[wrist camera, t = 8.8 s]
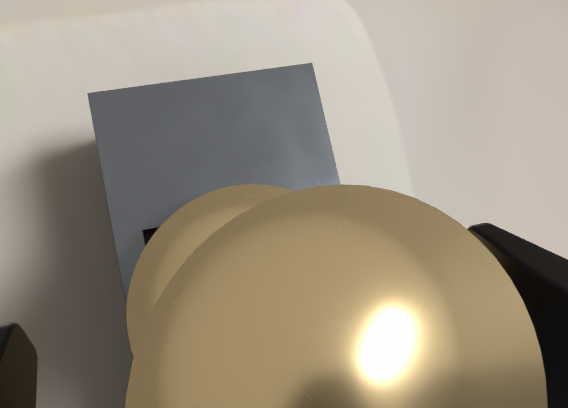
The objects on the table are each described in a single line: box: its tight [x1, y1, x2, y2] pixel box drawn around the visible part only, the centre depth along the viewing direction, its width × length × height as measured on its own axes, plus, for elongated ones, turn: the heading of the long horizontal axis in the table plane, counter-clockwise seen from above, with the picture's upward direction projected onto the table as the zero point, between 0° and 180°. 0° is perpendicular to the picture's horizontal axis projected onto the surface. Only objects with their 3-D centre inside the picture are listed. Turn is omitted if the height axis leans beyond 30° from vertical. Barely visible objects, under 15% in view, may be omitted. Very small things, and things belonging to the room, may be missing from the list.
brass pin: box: [125, 184, 548, 408], centre depth 10 cm, size 7×7×13 cm
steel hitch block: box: [88, 63, 340, 307], centre depth 15 cm, size 15×7×4 cm, turn 12°
